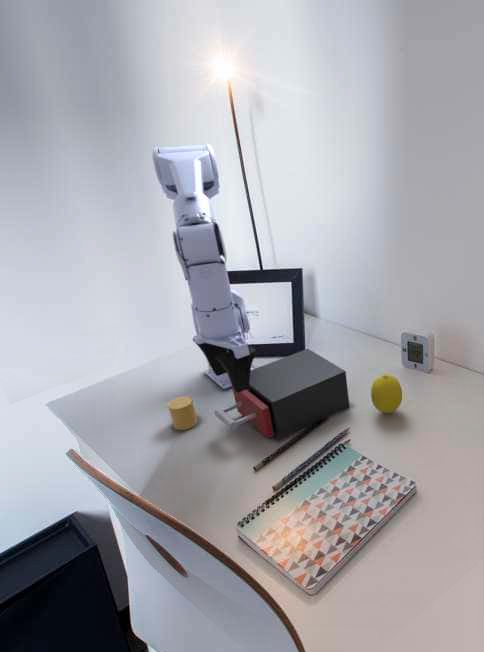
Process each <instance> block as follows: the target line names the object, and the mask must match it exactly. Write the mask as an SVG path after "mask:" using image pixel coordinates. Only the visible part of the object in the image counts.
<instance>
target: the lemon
mask: <svg viewBox="0 0 484 652" xmlns="http://www.w3.org/2000/svg"><path fill="white" fill-rule="evenodd" d="M370 398H371V402H372V405H373V407H374V408H375V409H376V410H377V411H379V412H381V413H385V414H386V415H387V414H390V413H393V412H395V411H396V410H397V409H398V408H400V406H401V404H402V401H403V390H402V386H401V384H400V381H399V380H398V379H397V378H396V377H395V376H393V375H389V374H386V373H385V374H383V375H380V376H378V377H377V378H376V379H375V380H374V381H373V383H372V385H371V389H370Z"/></svg>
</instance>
